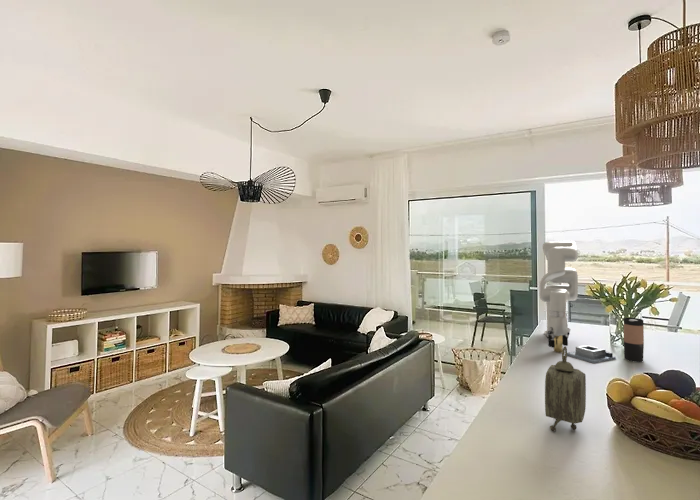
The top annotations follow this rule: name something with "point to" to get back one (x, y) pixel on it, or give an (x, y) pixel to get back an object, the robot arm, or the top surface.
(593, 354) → the jig
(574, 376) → the rustic cowbell
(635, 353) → the travel mug
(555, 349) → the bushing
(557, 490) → the top surface
